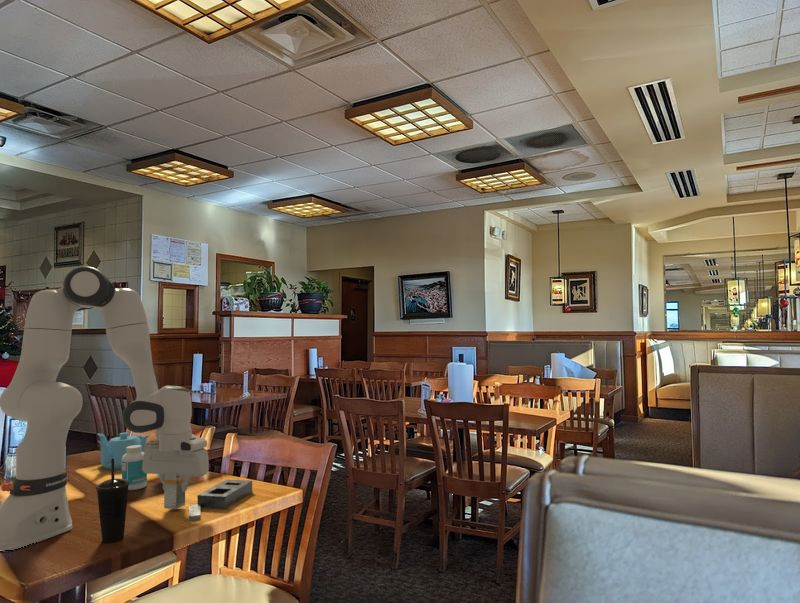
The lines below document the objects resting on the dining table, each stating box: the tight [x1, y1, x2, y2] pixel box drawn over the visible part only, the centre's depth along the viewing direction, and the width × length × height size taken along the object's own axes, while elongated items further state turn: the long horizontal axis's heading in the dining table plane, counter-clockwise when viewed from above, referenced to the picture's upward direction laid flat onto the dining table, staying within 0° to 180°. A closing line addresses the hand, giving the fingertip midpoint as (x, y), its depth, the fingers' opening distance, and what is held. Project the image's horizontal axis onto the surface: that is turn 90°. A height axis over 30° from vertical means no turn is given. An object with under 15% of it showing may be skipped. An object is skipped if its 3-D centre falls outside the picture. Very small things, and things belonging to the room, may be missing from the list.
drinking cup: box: [95, 459, 130, 544], centre depth 140 cm, size 8×8×20 cm
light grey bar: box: [188, 503, 201, 522], centre depth 157 cm, size 10×3×2 cm, turn 20°
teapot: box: [97, 432, 149, 471], centre depth 213 cm, size 17×19×12 cm
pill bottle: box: [121, 445, 148, 491], centre depth 184 cm, size 8×7×14 cm
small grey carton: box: [163, 473, 186, 510], centre depth 161 cm, size 4×4×10 cm
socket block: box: [197, 479, 253, 510], centre depth 169 cm, size 16×9×4 cm, turn 167°
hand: (174, 490), depth 161 cm, fingers closed on small grey carton, 4 cm apart
